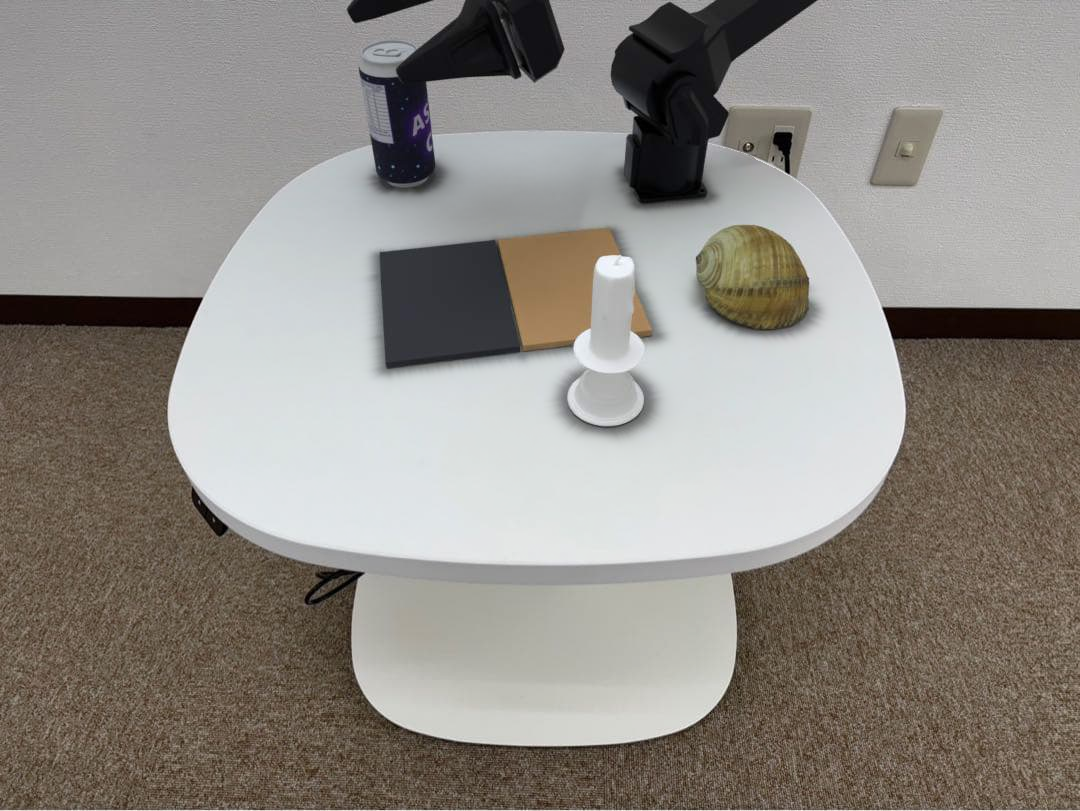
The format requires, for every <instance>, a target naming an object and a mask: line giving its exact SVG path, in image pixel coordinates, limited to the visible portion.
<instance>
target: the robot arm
mask: <svg viewBox="0 0 1080 811" xmlns="http://www.w3.org/2000/svg"><path fill="white" fill-rule="evenodd" d="M432 1H434V0H352V1H351V2H350V3H349V5H348V6H347V8H346V13H347V15H348V16H349V18H350V19H351V21H352V22H353V23H354V24H358V23H363V22H366V21H367V22H368V21H371V20H374V19H379V18H382V17H385V16H388V15H391V14H394V13H397V12H401V11H404V10H407V9H410V8H414V7H416V6H420V5H423V4H427V3H429V2H432ZM818 1H819V0H714V1H712V2H711V3H709V4H707V6H705V7H704V8H701V9H700V10H698V11H694V12H689V11H687V10H685V9H683V8H682V7H680V6H679V5H677V4H676V3H673V2H672V1H668V2H666V3H664V4H662V5H661V6H659V7H657V9H655V11H654V12H652V14H650V16H648V17H647V18H646V19H644V20H642V21H641V22H639V23H636V24H632V25H630V26H628V31H629V32H631V33H630V34H628V35H627V36H626V37H625V38H624V39H623V40H621V42H619V44H618V45H617V46H616V48H615V50H614V57H613V60H612V62H611V67H610V80H611V85H612V87H613V89H614V91H615V92H616V93H617V94H618V95H620V96H621V97H622V99H623V100H622V101H623V103H624V106H625V108H626V110H629V111H631V112H632V113H634V114H635V116H633V118H632V131H631V133H628V134H627V135H626V138H625V151H624V163H623V164H624V165H623V176H624V177H625V180H626V181H627V185H628V187H630V189H631V190H633V192H634V194H635V197H636V199H637V201H638V202H639V203H640V204H654V203H655V204H656V203H664V202H673V201H683V200H693V199H703V198H707V196H708V193H709V192H708V188H707V187H706V186H705V184H704V182H703V178H704V171H705V165H706V164H705V163H706V158H707V150H708V144H709V140H710V139H714V138H717V137H719V136H721V134H722V131H723V129H724V127H725V125H726V123H727V120H728V118H729V115H730V112H729V111H728V109H726V107H725V106H724V105H723V104H722V103H721V102H720V101H719V100H718V99H717V97H715V95H716V94H717V93H718V92H719V90H720V88H721V86H722V83H723V81H724V79H725V77H726V75H727V73H728V71H729V69H730V67H731V65H732V63H733V62H734V61H735V60H736V59H737V58H739V57H741V56H742V55H743V54H744V53H746V52H748V51H749V50H750V49H752V48H753V47H755V46H756V45H757V44H759V43H761V41H763V40H764V39H765V38H767V37H769V36H770V35H771V34H773V33H775V31H777V30H778V29H780V28H781V27H783V26H784V25H786V24H787V23H788V22H790V21H791V20H792V19H794V18H795V17H797V16H798V15H800V14H801V13H803V12H804V11H805V10H806V9H808V8H810V7H811V6H812V5H814V4H816V3H817V2H818ZM461 8H462V9H461V10H460V13H459V14H458V15H457V17H455V19H453V20H452V21H451V22H449V23H448V24H447V25H446V26H444V27H443V28H442V29H441V30H440V31H438V32H437V33H436V34H434V35H433V36H432V37H430V38H429V39H428V40H427V41H426V42H424V43H423V44H422V45H421V46H419V47H417V48H418V49H417V50H416V51H414V52H413V53H412V54H411V55H410V56H408V57H407V58H406V59H405V60H404V61H403V62H402V63H401V64H400V65H399V66H398V67H397V68H396V74H397V75H398V77H399V79H400V81H401V82H402V83H403V84H410V83H419V82H426V83H428V82H437V81H445V80H455V79H465V78H483V77H484V78H485V77H503V76H504V77H506V76H508V77H511V78H512V79H513V80H518V79H520V78H522V77H523V76H522V72H523V73H524V74H525V75H526V76H527V77H528V78H529V79H530V80H531V81H532V82H533V83H534V84H536V83H537V82H539V81H540V80H541V79H543V78H544V77H546V76H547V75H549V74H550V73H551V72H554V71H555V70H556V69H557V68H558V67H559V64H560V62H561V59H562V57H563V56H564V52H565V46H564V42H563V39H562V36H561V33H560V29H559V27H558V24H557V20H556V18H555V15H554V14H555V13H554V11H553V7H552V5H551V1H550V0H464V2H463V5H462V7H461ZM521 71H522V72H521Z"/></svg>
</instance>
